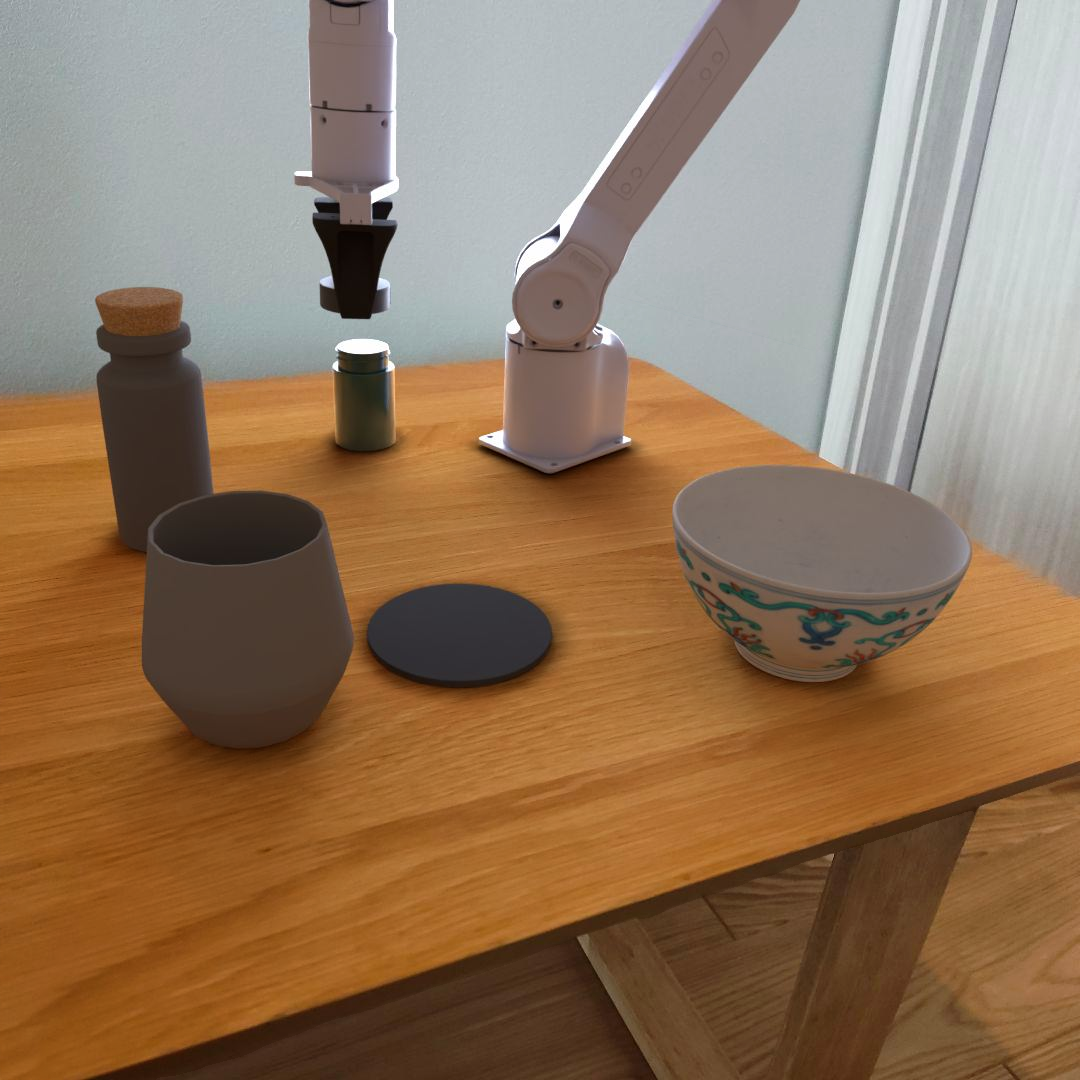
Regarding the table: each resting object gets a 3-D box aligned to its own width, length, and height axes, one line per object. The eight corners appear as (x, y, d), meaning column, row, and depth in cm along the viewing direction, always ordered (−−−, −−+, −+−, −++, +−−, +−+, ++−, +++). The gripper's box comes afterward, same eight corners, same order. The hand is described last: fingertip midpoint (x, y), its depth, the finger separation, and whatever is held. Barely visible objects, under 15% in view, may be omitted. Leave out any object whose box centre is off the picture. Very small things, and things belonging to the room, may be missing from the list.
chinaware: (994, 722, 53) (1034, 587, 49) (705, 742, 50) (725, 601, 47) (864, 576, 66) (888, 461, 62) (630, 586, 63) (641, 467, 60)
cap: (384, 296, 80) (384, 274, 79) (396, 314, 76) (396, 291, 75) (316, 297, 79) (315, 274, 78) (324, 315, 74) (324, 291, 74)
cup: (191, 653, 55) (169, 476, 50) (370, 663, 55) (365, 487, 50) (120, 771, 46) (86, 571, 42) (333, 784, 46) (322, 584, 42)
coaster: (468, 572, 64) (468, 566, 64) (589, 639, 58) (590, 633, 58) (329, 629, 58) (329, 623, 57) (449, 712, 51) (449, 705, 51)
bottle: (189, 559, 64) (160, 314, 57) (100, 547, 65) (61, 303, 58) (233, 519, 69) (211, 289, 62) (150, 507, 70) (120, 279, 63)
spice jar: (370, 425, 85) (367, 333, 82) (407, 441, 82) (406, 347, 79) (323, 439, 82) (318, 344, 79) (360, 456, 79) (357, 359, 76)
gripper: (295, 94, 77) (301, 281, 83) (288, 115, 64) (296, 334, 70) (393, 100, 78) (392, 283, 84) (405, 122, 65) (402, 336, 72)
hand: (355, 307), depth 77 cm, fingers closed on cap, 5 cm apart
